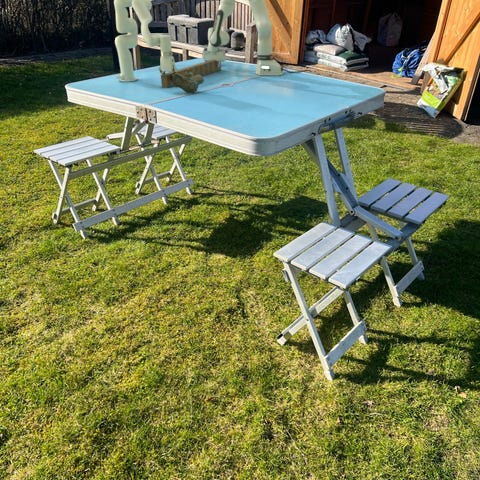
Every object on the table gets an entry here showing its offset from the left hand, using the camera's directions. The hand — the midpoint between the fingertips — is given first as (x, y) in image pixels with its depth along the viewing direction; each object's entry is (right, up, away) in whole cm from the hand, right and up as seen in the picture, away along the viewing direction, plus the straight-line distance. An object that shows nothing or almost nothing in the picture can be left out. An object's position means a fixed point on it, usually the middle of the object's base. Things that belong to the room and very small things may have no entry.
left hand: (169, 80), depth 320 cm
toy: (+28, +41, +76) cm, 91 cm away
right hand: (+30, +29, +50) cm, 65 cm away
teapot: (+17, -15, -18) cm, 29 cm away
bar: (+15, +12, +27) cm, 33 cm away
